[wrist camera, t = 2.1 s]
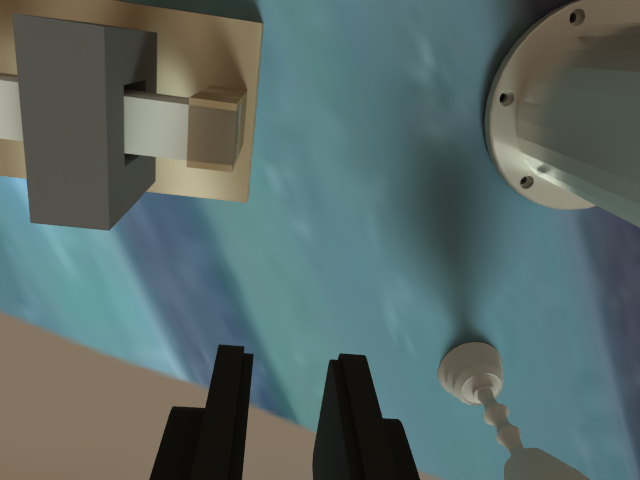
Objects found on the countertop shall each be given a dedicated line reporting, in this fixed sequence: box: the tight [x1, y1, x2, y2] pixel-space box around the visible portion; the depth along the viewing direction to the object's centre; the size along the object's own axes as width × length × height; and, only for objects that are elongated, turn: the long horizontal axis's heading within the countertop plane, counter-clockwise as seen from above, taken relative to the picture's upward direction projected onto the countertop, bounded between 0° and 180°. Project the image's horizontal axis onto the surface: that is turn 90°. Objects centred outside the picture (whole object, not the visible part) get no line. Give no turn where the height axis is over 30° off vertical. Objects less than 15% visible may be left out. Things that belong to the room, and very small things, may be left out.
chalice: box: [438, 342, 590, 480], centre depth 28 cm, size 7×7×18 cm
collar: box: [12, 13, 157, 230], centre depth 21 cm, size 3×8×8 cm, turn 172°
